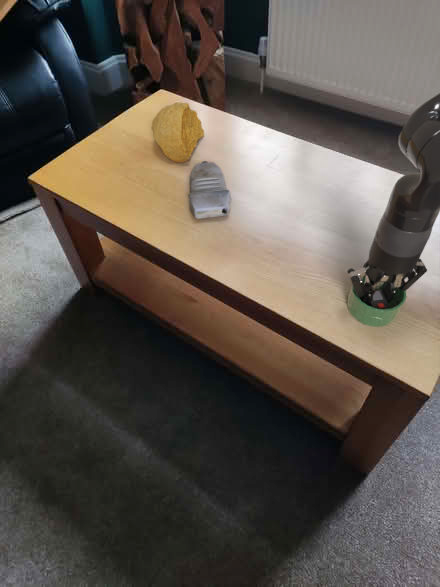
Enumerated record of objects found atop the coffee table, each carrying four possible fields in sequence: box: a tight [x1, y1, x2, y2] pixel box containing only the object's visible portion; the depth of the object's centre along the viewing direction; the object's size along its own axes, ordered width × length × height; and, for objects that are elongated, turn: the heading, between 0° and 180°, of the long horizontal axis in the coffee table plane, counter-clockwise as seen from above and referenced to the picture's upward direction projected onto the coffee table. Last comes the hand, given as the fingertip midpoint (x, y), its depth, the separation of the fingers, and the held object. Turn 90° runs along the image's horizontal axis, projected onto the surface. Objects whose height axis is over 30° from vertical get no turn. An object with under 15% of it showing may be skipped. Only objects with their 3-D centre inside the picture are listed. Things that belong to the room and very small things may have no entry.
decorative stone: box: [151, 102, 205, 163], centre depth 112 cm, size 13×15×15 cm
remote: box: [362, 283, 391, 309], centre depth 80 cm, size 7×3×3 cm, turn 9°
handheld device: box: [188, 160, 232, 220], centre depth 101 cm, size 10×20×5 cm, turn 6°
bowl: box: [346, 275, 407, 328], centre depth 79 cm, size 9×9×5 cm
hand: (373, 303), depth 81 cm, fingers closed on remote, 3 cm apart
